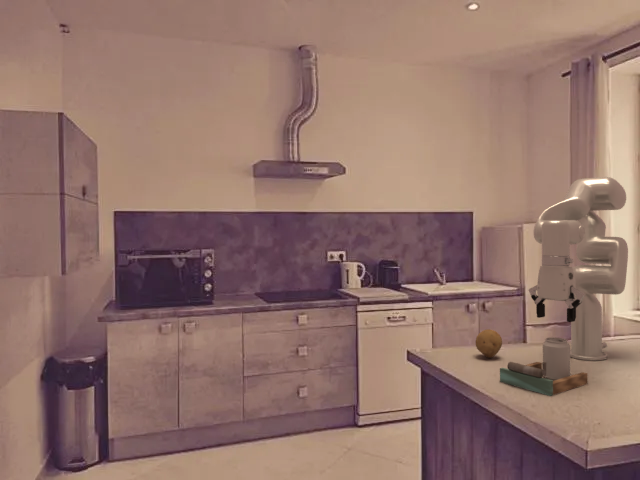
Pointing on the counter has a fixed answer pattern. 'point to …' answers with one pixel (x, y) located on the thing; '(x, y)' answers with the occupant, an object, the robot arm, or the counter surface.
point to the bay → (539, 378)
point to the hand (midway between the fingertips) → (555, 319)
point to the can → (556, 358)
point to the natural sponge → (488, 342)
